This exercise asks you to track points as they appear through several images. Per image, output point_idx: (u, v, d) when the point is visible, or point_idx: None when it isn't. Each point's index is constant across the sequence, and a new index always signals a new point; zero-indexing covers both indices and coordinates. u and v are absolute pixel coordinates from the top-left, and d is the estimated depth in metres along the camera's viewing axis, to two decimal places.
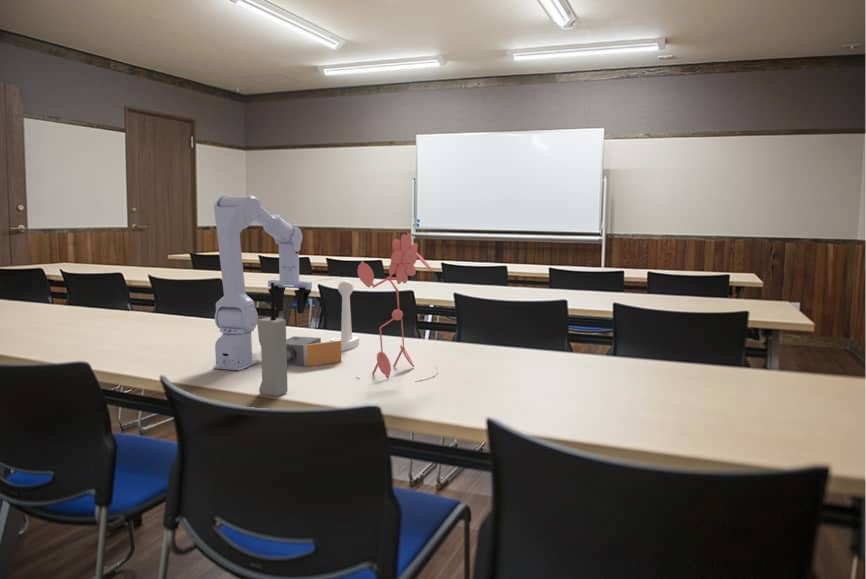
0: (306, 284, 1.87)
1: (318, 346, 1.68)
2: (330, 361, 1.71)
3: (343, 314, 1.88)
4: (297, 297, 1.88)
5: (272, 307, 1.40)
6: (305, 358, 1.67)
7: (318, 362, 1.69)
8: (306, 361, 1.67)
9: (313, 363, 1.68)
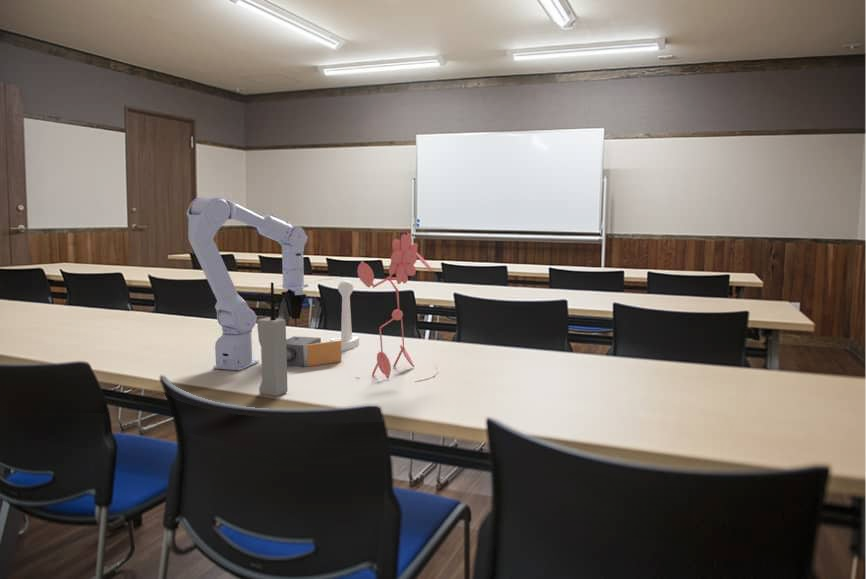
0: (294, 289, 1.73)
1: (318, 346, 1.68)
2: (330, 361, 1.71)
3: (343, 314, 1.88)
4: (288, 301, 1.77)
5: (272, 307, 1.40)
6: (305, 358, 1.67)
7: (318, 362, 1.69)
8: (306, 361, 1.67)
9: (313, 363, 1.68)
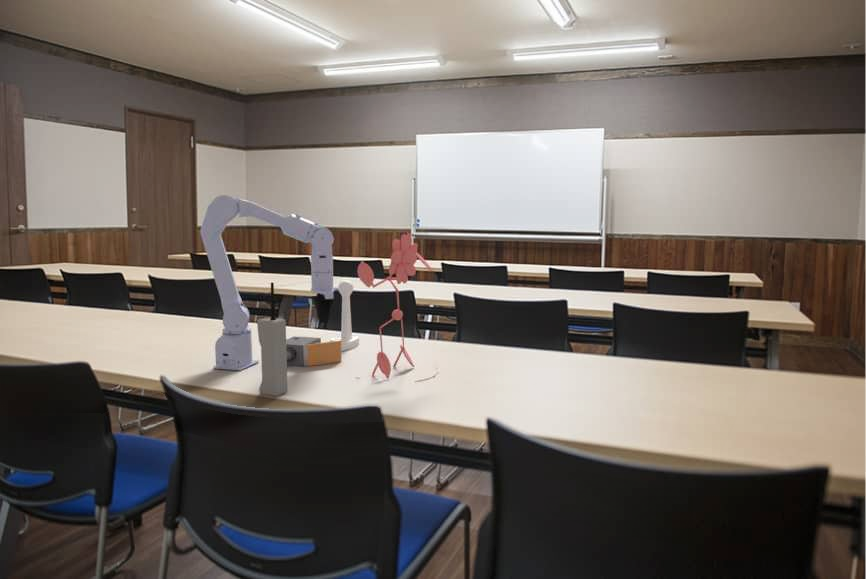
0: (325, 293, 1.65)
1: (318, 346, 1.68)
2: (330, 361, 1.71)
3: (343, 314, 1.88)
4: (316, 305, 1.71)
5: (272, 307, 1.40)
6: (305, 358, 1.67)
7: (318, 362, 1.69)
8: (306, 361, 1.67)
9: (313, 363, 1.68)
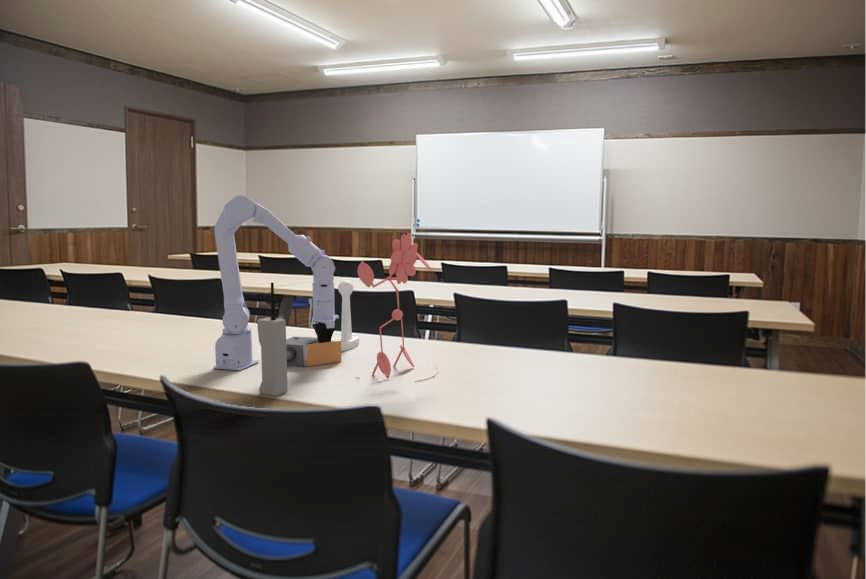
0: (326, 322, 1.66)
1: (318, 346, 1.68)
2: (330, 361, 1.71)
3: (343, 314, 1.88)
4: (317, 333, 1.71)
5: (272, 307, 1.40)
6: (305, 358, 1.67)
7: (318, 362, 1.69)
8: (306, 361, 1.67)
9: (313, 363, 1.68)
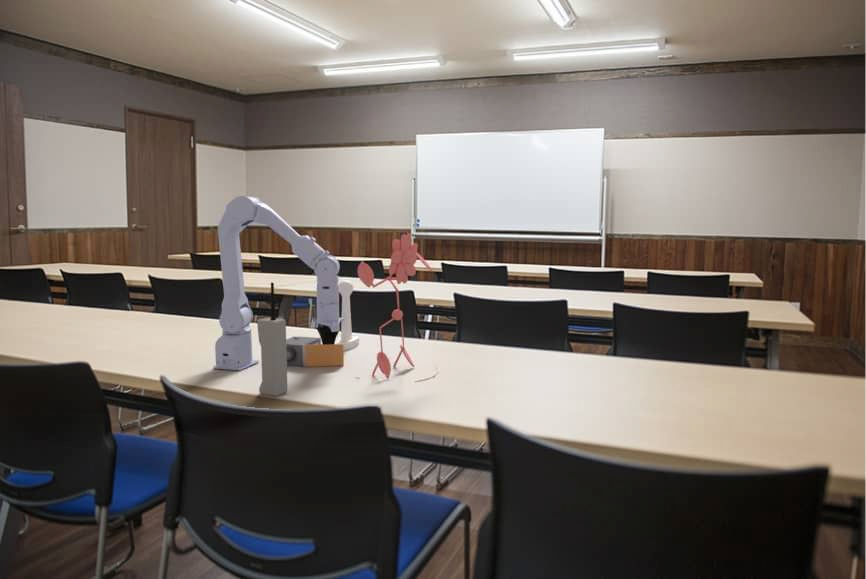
0: (331, 325, 1.61)
1: (318, 347, 1.67)
2: (331, 364, 1.68)
3: (343, 314, 1.88)
4: (320, 336, 1.67)
5: (272, 307, 1.40)
6: (303, 358, 1.66)
7: (318, 363, 1.67)
8: (304, 361, 1.67)
9: (312, 364, 1.67)
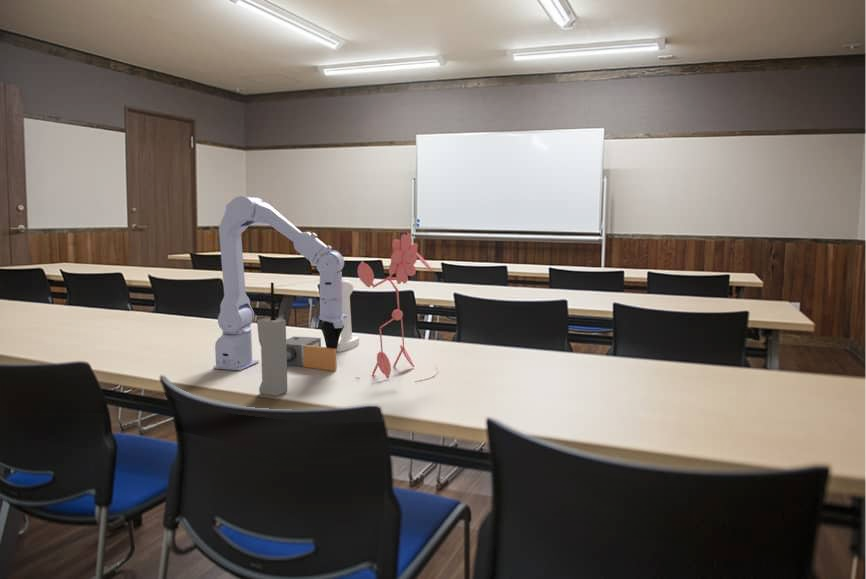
0: (334, 322, 1.58)
1: (313, 349, 1.65)
2: (324, 367, 1.64)
3: None
4: (324, 333, 1.64)
5: (272, 307, 1.40)
6: (302, 358, 1.67)
7: (313, 365, 1.65)
8: (302, 361, 1.67)
9: (309, 365, 1.66)
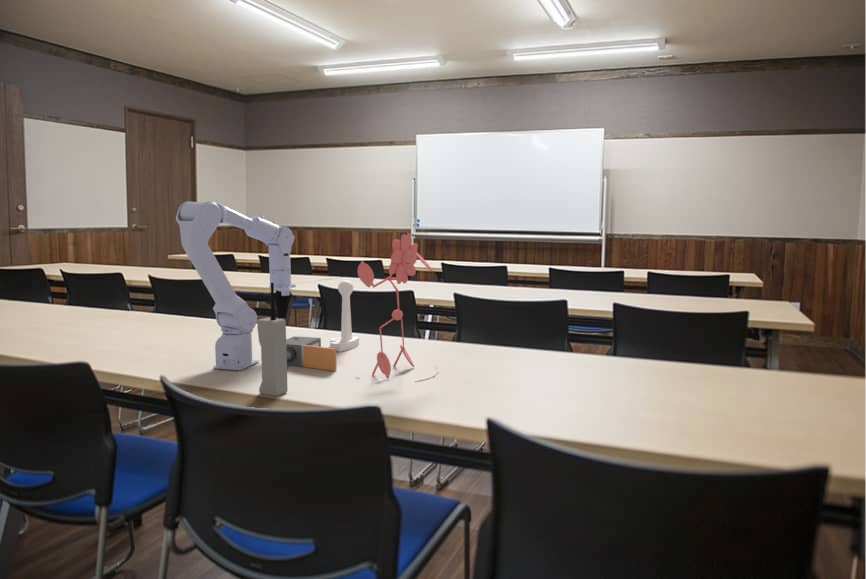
0: (281, 290, 1.72)
1: (313, 349, 1.65)
2: (324, 367, 1.64)
3: (343, 314, 1.88)
4: (274, 301, 1.77)
5: (272, 307, 1.40)
6: (302, 358, 1.67)
7: (313, 365, 1.65)
8: (302, 361, 1.67)
9: (309, 365, 1.66)
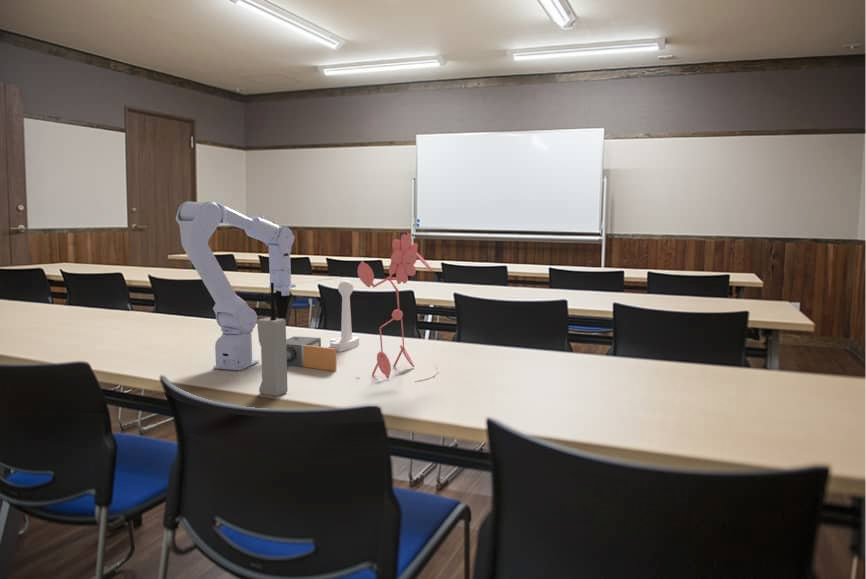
0: (281, 290, 1.72)
1: (313, 349, 1.65)
2: (324, 367, 1.64)
3: (343, 314, 1.88)
4: (274, 301, 1.77)
5: (272, 307, 1.40)
6: (302, 358, 1.67)
7: (313, 365, 1.65)
8: (302, 361, 1.67)
9: (309, 365, 1.66)
